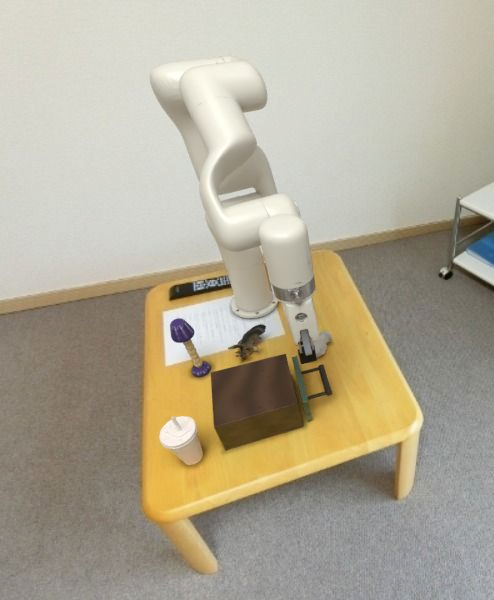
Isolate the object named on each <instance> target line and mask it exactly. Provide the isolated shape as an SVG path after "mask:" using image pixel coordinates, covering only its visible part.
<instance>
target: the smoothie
mask: <svg viewBox="0 0 494 600" xmlns="http://www.w3.org/2000/svg"><path fill="white" fill-rule="evenodd" d="M158 437H159V442H160V443H161V445H162V446H163V447H164V448H165V449H169V450H170V451H171V452H172V453H173V454H174V455H175V456H176V457H177V458H178V459H179V460H181V461H182V463H184V464H185V465H187V466H194V465H196V464H198V463H199V462H200V461H201V460H202V458H203V457H204V451H203V448H202V445H201V441H200V437H199V434H198V425H197V423H196V421H195V420H194V419H193V418H192V417H190V416H188V415H187V416H186V415H181V416H176V417H175V416H174V415H173V416H171V417H170V420H168V421H167V422H166V423H165V424H164V425H163V426H162V427H161V429H160V431H159V435H158Z"/></svg>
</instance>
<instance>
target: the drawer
mask: <svg viewBox="0 0 494 600" xmlns="http://www.w3.org/2000/svg"><path fill="white" fill-rule="evenodd" d="M298 358H299V357H298V356H297V355H295V356H291V362H292V365H293V369H294V374H295V378H296V383H297V387H298V391H299V394H300V395H299V396H300V398H301V403H302V407H303V411H304V416H305V419H306V421H310V420H313V416H312V411H311V405H310V400H313V399H316V398H321V397H323V396H326V397H330V396H332V395H333V390H332V387H331V383H330V381H329V377H328V374H327V371H326V367H325V364H323V363H321V364H319V365H318V366H316V367H313V368H309V369H306V370H301V366H300V361H299V359H298ZM315 372H319V376H320V380H321V383H322V386H323V389H324V391H320V392H317V393H314V394H311V395H308V393H307V389H306V386H305V381H304V378H303V375H304V376H305V375H307V374H310V373H315Z"/></svg>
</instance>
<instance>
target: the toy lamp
mask: <svg viewBox="0 0 494 600" xmlns="http://www.w3.org/2000/svg"><path fill="white" fill-rule="evenodd" d="M169 330H170V339H171V341H173V342H175V343H176V344H177V343H178V344H183V346H184V348H185V350H186V351H187V354H188V355H189V358H190V359H191V362H192V363H193V366H192V367H191V375H192V376H193V377H196V378H203V377H205V376H207V375H208V374H209V373H211V369H212V366H211V364H210V363H209V362H207V361H205V360H201V356H200V355H199V353H198V351H197V348H196V347H195V345H194V343H193V340H192V339H193V338H194V336H195V329H194V328H193V326H191V324H190V323H189V322H187V320H185V319H184V318H181V317H178V318H175V319H172V321H171V322H170V324H169Z"/></svg>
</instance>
